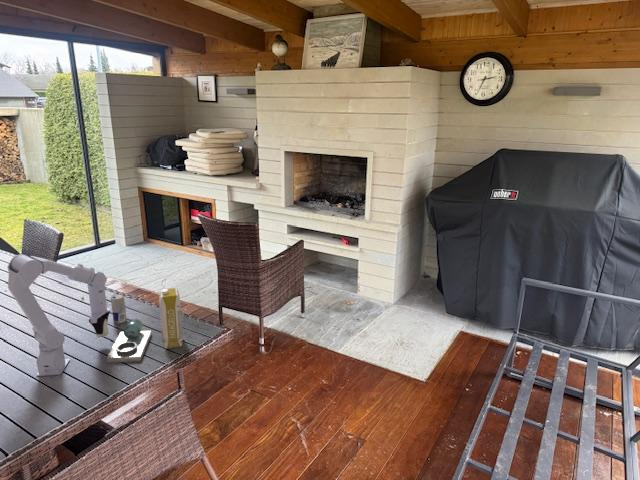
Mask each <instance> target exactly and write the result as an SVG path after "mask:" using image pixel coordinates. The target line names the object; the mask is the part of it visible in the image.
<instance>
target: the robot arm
mask: <svg viewBox="0 0 640 480" xmlns="http://www.w3.org/2000/svg"><path fill="white" fill-rule="evenodd" d="M6 267H7V271H8V280H7V281H8V285H7V288H8V290H9V292H10V293H11V294H12V296H13V298H14V299H15V301H16V302H17V304H18V306H19V307H20V309H21V311H22V312H23V313H24V315H25V316H26V318H27V319H28V321H29V323H30V324H31V326H32V331H33V333H34V334H33V337H34V340H35V341H37V342H38V349H39V353H38V354H39V355H38V357H37V358H36V365H37V366H36V367H37V373H36V374H35V376H36V377H39V376H40V377H41V376H42V377H43V376H60V375H61V374H62V372H63V371H64V370H65V368H66V367H67V366H68V363H70V360H71V359H70V358H66V357H65V352H64V351H65V350H64V345H63V344H64V343H65V339H66V337H65V335H64V333H62V332H60V331H58V329H57V328H56V327H55V326H54V325H53V324H52V323H51V322H50V320H49V318H48V317H47V315H46V313H45V312H44V310H43V308H42V307H41V305H40V304H39V302H38V300H37V299H36V297H35V296H34V293H33V292H32V291H31V289H30V286H31V285H32V284H33V283H34V282H35V280H36V279H37V278H38V277H39V276H41V274H42V275H44V274H46V273H48V272H53V273H56V274H61V275H66V277H67V279H69V280H71V281H74V282H78V283H83V284H87V289H88V297H89V306H90V317H89V319H88V322H89V324H90V325H91V326H92V327H93V329H94V331H95V334H96V333H97V334H103V325H104V321H105V319H107V323H109V322H108V321H109V315H110V313H111V310H112V308H108V306H109V303H108V301H107V297H106V286H105V285H106V283H107V280H108V277H106V275H105V273H104V272H102V271H100V270H97V269H95V268H93V267H90V268H89V267H87V266H86V267H85V266H84V264H80V263H77V264H72V265H70V266H69V265H65V264H63V263H60V262H58V261H57V262H56V261H54V260H50V259H47V258H44V257H39V256H34V255H29V256H28V255H27V254H24V253H22V254H16V255H14V256H13V257H12V258H11V259H10V261H9V263H8V265H7V266H6Z"/></svg>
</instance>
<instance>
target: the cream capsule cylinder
mask: <svg viewBox="0 0 640 480" xmlns="http://www.w3.org/2000/svg"><path fill="white" fill-rule="evenodd" d="M95 335H96V337H97V338H104V337H106V336H108V335H109V327H108V322H107V319H105V321H104V325H103V334H97V333H96V332H95Z"/></svg>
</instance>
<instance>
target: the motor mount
mask: <svg viewBox="0 0 640 480" xmlns="http://www.w3.org/2000/svg"><path fill="white" fill-rule="evenodd" d="M143 327H144V326H143V322H142V321H141V320H139V319H138V318H133V319H130V320H129V321H128V322H127V324H126V326H125V327H124V330H123V331H120V332H119V335H118V337H117V338H116V340H115V342H114V344H113V345H112V347H111V350H110V351H109V353H108V355H107V356H106V363H126V362H127V363H129V362H141V361H142V359H143V356H144V354H145V351H146V349H147V347H148V344H149V341H150V340H151V337H152V330H142V329H143Z"/></svg>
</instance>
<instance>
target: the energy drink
mask: <svg viewBox="0 0 640 480" xmlns="http://www.w3.org/2000/svg"><path fill="white" fill-rule="evenodd" d="M110 302H111V310H112V318H113V319H112V320H113V321H112V322H113V323H115V324H123V323H126V321H127V311H126V310H127V309H126V301H125V296H124V294H122V293H117V294H116V293H115V294H113V295H112V296H111V297H110Z"/></svg>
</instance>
